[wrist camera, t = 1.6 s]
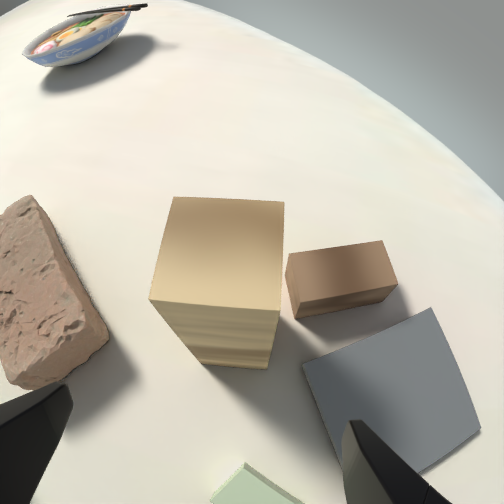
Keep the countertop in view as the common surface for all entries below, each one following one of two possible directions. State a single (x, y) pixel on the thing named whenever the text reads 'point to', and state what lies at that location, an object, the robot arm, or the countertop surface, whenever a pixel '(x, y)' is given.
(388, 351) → the slate coaster
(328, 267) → the walnut brick
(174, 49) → the countertop surface
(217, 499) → the sage brick
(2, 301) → the brick
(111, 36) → the ramen bowl
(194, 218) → the oak post
